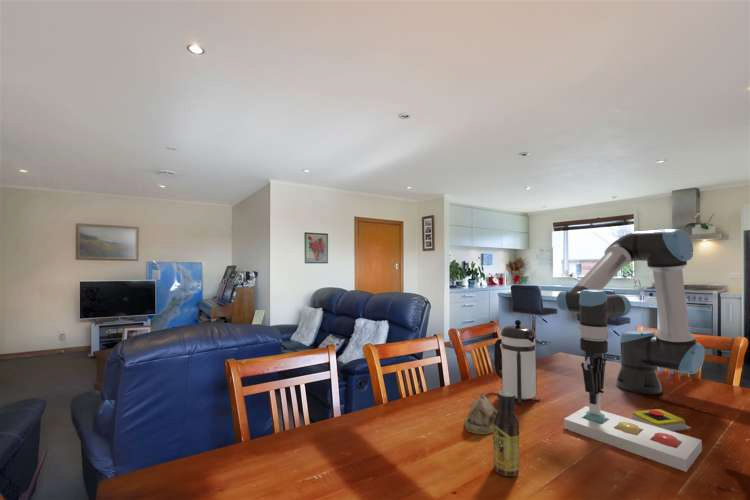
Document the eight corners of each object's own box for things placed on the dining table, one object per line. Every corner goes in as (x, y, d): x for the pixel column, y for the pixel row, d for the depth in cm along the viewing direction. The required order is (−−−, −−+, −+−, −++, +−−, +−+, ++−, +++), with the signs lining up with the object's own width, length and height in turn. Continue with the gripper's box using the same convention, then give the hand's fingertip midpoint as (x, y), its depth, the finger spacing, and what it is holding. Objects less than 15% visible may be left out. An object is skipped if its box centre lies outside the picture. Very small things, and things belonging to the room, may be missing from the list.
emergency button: (626, 408, 121) (664, 404, 124) (627, 421, 121) (664, 417, 124) (653, 420, 112) (692, 415, 115) (653, 435, 112) (693, 430, 115)
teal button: (590, 420, 119) (590, 409, 119) (607, 425, 115) (607, 414, 115) (583, 424, 116) (583, 413, 116) (601, 430, 112) (600, 419, 112)
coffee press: (540, 393, 145) (539, 317, 146) (540, 408, 131) (538, 324, 131) (495, 387, 152) (493, 315, 153) (490, 400, 138) (488, 321, 139)
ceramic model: (470, 414, 127) (469, 385, 127) (503, 420, 122) (503, 390, 122) (459, 431, 114) (459, 399, 115) (496, 439, 109) (496, 405, 109)
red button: (658, 443, 105) (657, 431, 105) (680, 450, 101) (679, 437, 101) (652, 449, 102) (652, 436, 102) (674, 456, 98) (674, 443, 98)
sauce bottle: (489, 464, 95) (488, 388, 96) (512, 463, 96) (511, 387, 96) (500, 480, 89) (498, 397, 89) (524, 478, 89) (523, 396, 90)
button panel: (586, 414, 125) (586, 406, 125) (701, 450, 101) (701, 440, 101) (564, 428, 115) (564, 418, 115) (686, 471, 91) (685, 459, 92)
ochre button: (622, 431, 112) (621, 420, 112) (641, 438, 108) (641, 426, 108) (615, 436, 109) (615, 424, 109) (635, 443, 105) (635, 431, 105)
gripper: (589, 334, 123) (591, 404, 122) (571, 339, 115) (573, 414, 114) (614, 337, 117) (616, 412, 116) (597, 343, 109) (599, 423, 108)
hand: (594, 413), depth 115 cm, fingers closed
